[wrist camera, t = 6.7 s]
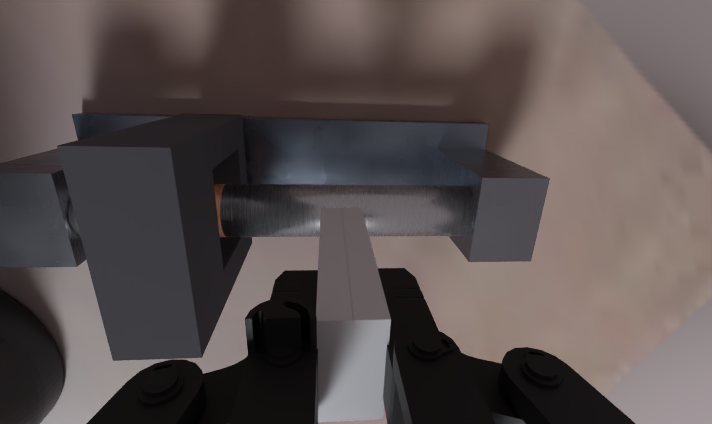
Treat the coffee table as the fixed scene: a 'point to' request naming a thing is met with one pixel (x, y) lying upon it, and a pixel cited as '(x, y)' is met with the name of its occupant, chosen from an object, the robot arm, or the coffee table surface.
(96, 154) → the dark gray notched block
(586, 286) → the coffee table surface
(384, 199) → the rail
